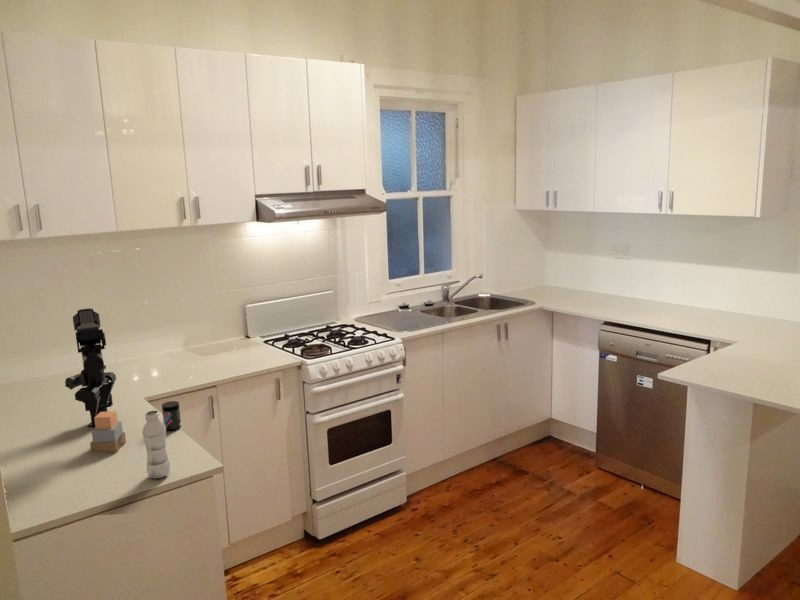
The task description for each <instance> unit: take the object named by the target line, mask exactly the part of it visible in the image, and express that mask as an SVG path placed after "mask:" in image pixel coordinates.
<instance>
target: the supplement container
mask: <svg viewBox="0 0 800 600" xmlns="http://www.w3.org/2000/svg"><path fill="white" fill-rule="evenodd" d="M161 410H162V411H161V412H162V420H163V421H162V422H163V423H164V425H165V427H166V430H167V431H166V432H175V431H177V430H176V429H178V430H180V429H181V428H182V419H181V418H182V417H181V409H180V402H179V401H178V400H177V401H176V400H174V401H173V400H172V401H166V402H163V403H162V404H161ZM174 430H175V431H174Z"/></svg>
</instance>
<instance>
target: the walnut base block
mask: <svg viewBox="0 0 800 600" xmlns="http://www.w3.org/2000/svg"><path fill="white" fill-rule="evenodd" d="M126 443H127V439H126V432H125V431H123V433H122V434H121V435H120V437H119V438H118V439H117V440H116V441H114V442H97V443H93V440H91V442H90V443H89V444H90V452H91V455H94V454H93V453H105V454H115V453H114V452H117V453H119V451H120V450H121V449H122V448H123V447H124V445H125V444H126ZM121 447H122V448H121ZM120 448H121V449H120ZM119 449H120V450H119Z"/></svg>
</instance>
